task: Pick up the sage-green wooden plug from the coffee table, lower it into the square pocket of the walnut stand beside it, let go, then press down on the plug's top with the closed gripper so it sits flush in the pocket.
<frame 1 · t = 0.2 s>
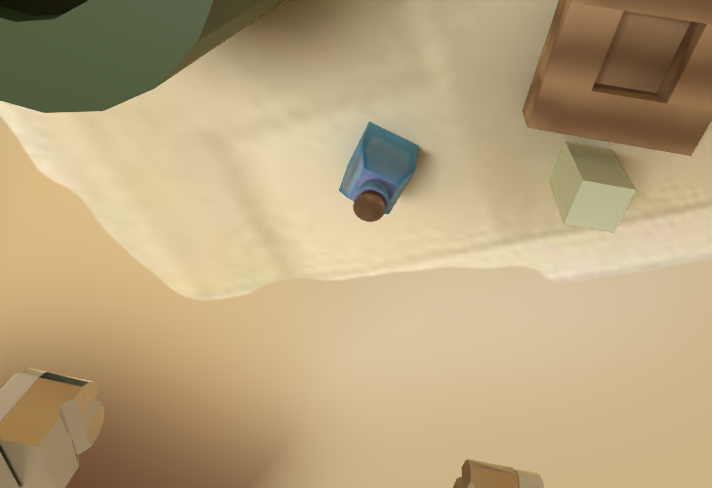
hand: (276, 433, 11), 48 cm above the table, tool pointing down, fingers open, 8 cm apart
walnut stand: (631, 46, 48), on the table
sage plug: (579, 166, 56), on the table
perfume bottle: (382, 154, 59), on the table
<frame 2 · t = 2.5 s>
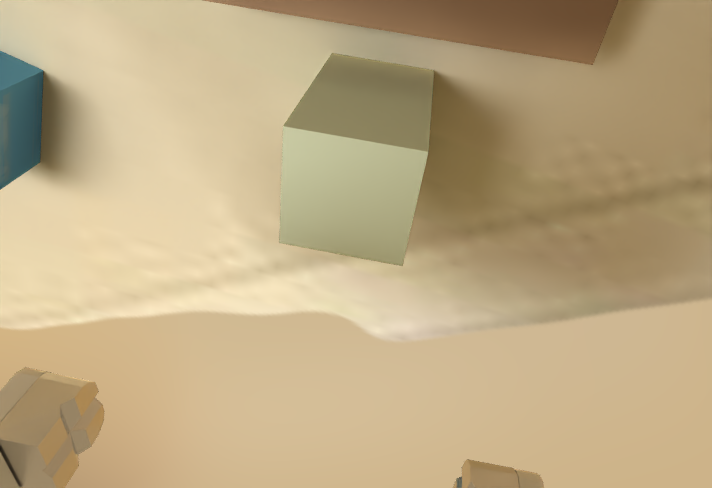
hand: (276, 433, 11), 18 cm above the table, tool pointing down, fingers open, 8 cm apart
sage plug: (375, 111, 26), on the table
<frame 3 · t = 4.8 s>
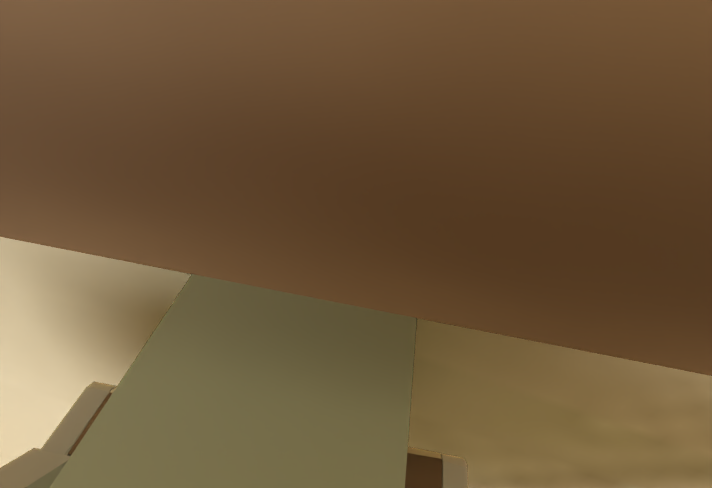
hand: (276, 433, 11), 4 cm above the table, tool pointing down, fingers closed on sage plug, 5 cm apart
sage plug: (313, 318, 14), on the table, touching gripper
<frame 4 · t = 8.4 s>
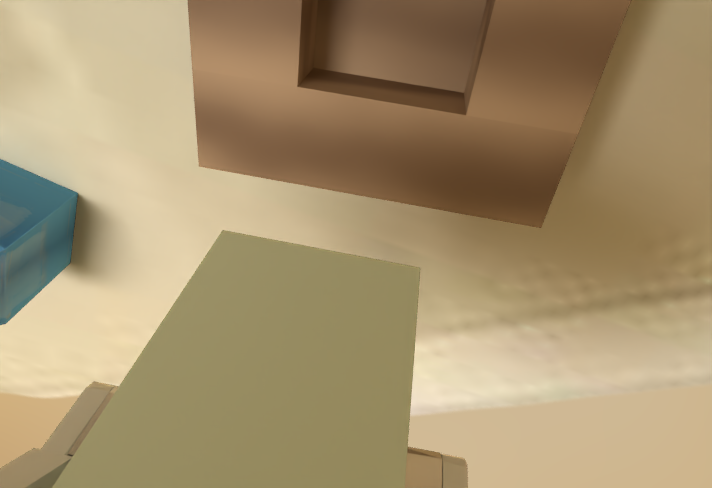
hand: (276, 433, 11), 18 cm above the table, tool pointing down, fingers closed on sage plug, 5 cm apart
sage plug: (313, 320, 14), point 15 cm above the table, touching gripper
perfume bottle: (30, 208, 33), on the table
when the fingers open (6 cm above the table, at t = 12.3 s): sage plug stays where it is, resting on walnut stand.
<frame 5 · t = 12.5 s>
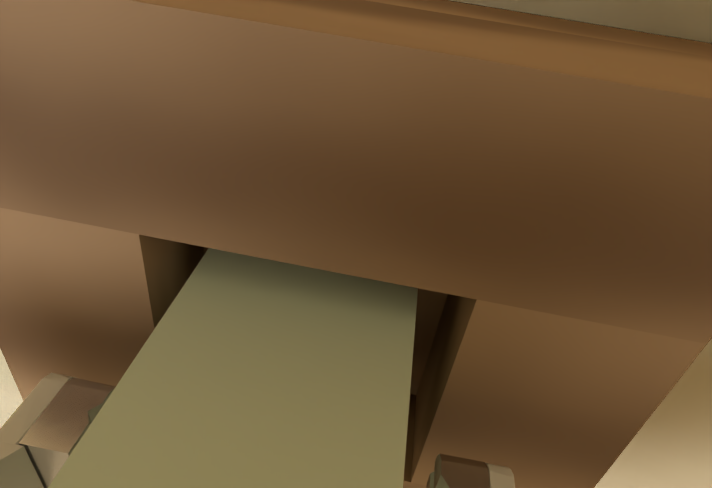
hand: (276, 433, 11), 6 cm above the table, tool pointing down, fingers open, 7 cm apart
walnut stand: (330, 265, 16), on the table
sage plug: (319, 296, 15), point 1 cm above the table, touching walnut stand
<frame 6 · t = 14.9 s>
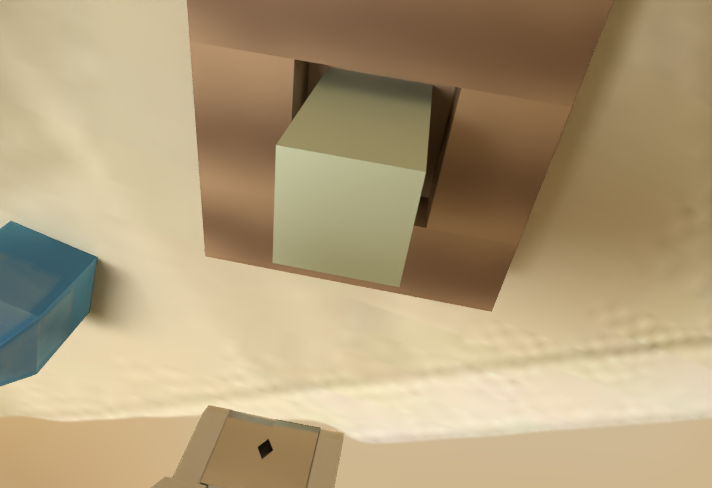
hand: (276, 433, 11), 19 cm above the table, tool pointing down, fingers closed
walnut stand: (377, 114, 26), on the table
sage plug: (372, 125, 25), point 1 cm above the table, touching walnut stand
perfume bottle: (54, 267, 37), on the table
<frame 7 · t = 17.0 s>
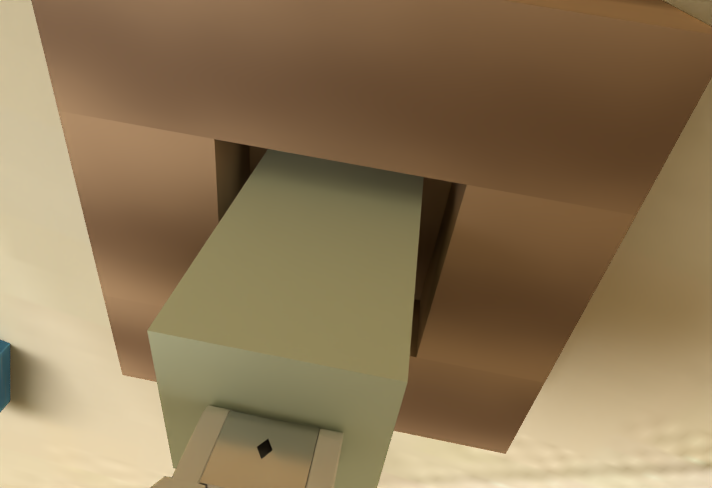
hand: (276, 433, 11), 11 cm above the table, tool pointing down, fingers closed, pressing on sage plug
walnut stand: (350, 191, 19), on the table
sage plug: (342, 211, 18), point 2 cm above the table, touching gripper, walnut stand
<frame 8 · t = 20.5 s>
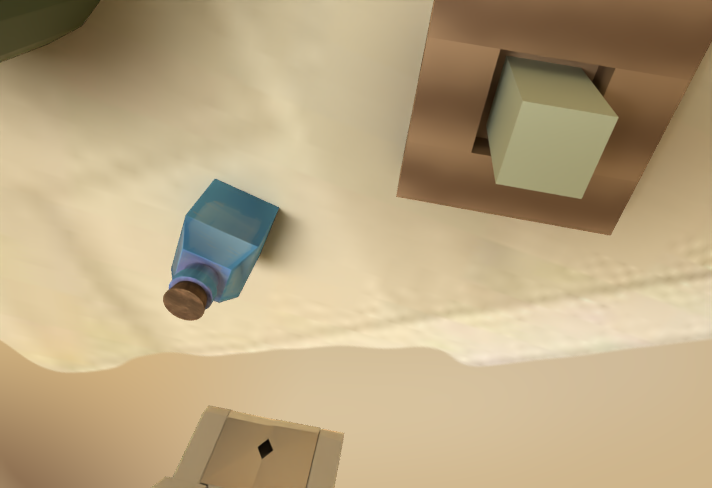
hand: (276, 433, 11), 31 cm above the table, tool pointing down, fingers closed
walnut stand: (529, 90, 36), on the table
sage plug: (531, 97, 35), point 1 cm above the table, touching walnut stand
perfume bottle: (239, 217, 47), on the table
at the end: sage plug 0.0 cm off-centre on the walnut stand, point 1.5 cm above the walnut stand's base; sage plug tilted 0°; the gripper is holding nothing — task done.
